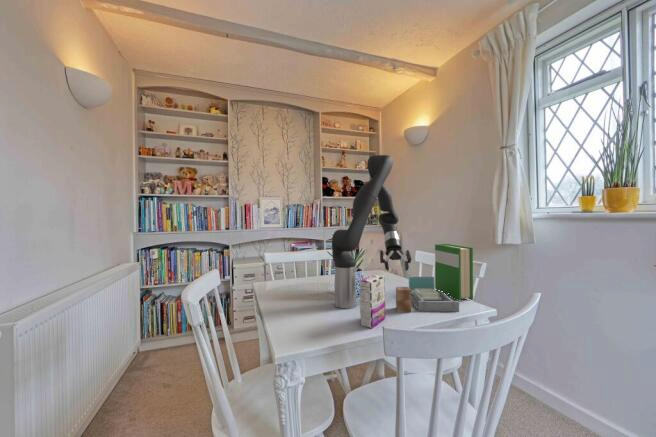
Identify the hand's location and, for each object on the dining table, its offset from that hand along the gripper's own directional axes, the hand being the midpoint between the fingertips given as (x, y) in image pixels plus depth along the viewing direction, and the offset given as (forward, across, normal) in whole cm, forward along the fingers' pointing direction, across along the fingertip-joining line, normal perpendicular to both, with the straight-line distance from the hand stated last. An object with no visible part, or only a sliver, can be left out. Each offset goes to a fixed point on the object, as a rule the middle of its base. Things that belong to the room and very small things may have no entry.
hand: (397, 269), depth 120 cm
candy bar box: (+28, -14, -7) cm, 32 cm away
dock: (+13, +14, +8) cm, 20 cm away
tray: (+6, +14, +12) cm, 20 cm away
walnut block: (+18, 0, +2) cm, 18 cm away
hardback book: (+3, +29, +18) cm, 34 cm away
